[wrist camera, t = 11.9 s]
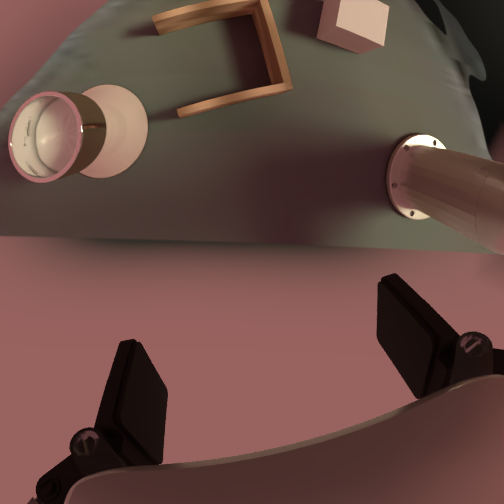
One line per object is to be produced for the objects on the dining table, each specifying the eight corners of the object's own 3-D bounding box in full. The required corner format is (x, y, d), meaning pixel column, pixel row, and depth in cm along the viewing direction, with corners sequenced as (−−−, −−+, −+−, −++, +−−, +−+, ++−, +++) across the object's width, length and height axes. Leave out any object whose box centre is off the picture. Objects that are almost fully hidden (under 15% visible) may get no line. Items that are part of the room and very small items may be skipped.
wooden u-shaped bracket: (256, 7, 27) (265, -8, 23) (280, 93, 32) (293, 88, 27) (158, 29, 27) (151, 16, 22) (181, 118, 31) (178, 116, 27)
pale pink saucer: (135, 71, 28) (133, 70, 28) (159, 158, 33) (158, 159, 32) (53, 108, 28) (51, 108, 27) (77, 190, 32) (76, 191, 32)
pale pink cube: (316, 38, 30) (335, 25, 24) (323, 1, 28) (343, -15, 22) (359, 54, 31) (383, 46, 26) (365, 18, 29) (389, 6, 23)
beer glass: (79, 165, 31) (12, 193, 17) (74, 108, 28) (3, 103, 14) (134, 155, 32) (90, 176, 18) (129, 96, 29) (82, 76, 15)
